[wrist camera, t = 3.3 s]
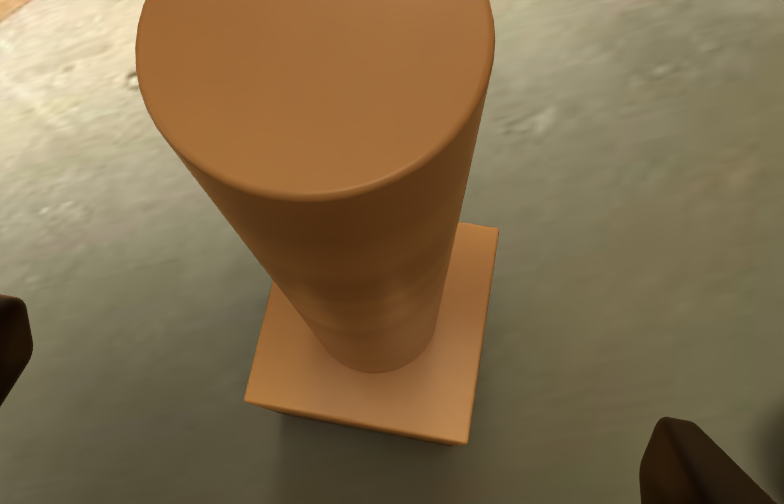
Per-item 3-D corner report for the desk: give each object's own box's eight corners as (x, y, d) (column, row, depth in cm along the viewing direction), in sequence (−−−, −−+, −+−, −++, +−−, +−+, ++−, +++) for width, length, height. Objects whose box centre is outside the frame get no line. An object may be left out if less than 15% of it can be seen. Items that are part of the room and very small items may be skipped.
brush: (453, 447, 19) (612, 418, 4) (280, 413, 19) (-118, 283, 5) (479, 276, 20) (664, -178, 6) (317, 248, 20) (104, -244, 6)
